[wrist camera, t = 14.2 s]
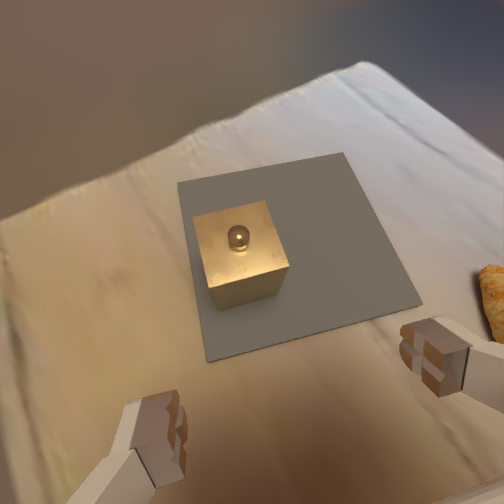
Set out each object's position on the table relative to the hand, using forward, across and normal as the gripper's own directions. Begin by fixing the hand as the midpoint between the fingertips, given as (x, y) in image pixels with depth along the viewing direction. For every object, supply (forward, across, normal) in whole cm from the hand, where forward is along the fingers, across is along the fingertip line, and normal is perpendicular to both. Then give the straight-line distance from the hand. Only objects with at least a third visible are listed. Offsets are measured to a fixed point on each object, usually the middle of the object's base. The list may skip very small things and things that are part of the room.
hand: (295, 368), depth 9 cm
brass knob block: (+18, 0, +4) cm, 18 cm away
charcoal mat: (+20, -6, +3) cm, 21 cm away
